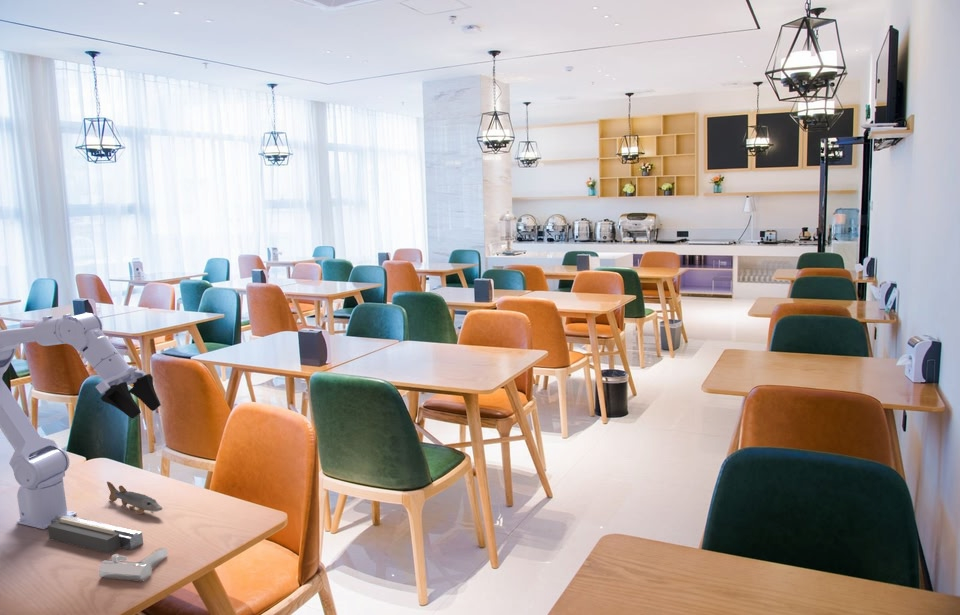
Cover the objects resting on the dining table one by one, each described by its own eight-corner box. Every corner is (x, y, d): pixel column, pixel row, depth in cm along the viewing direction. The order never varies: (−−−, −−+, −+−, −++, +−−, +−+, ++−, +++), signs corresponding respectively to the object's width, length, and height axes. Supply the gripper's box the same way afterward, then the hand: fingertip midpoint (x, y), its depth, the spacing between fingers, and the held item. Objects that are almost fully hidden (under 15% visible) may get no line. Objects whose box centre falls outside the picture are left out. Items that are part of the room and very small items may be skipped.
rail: (52, 530, 152) (50, 517, 152) (65, 524, 155) (63, 512, 155) (131, 550, 143) (129, 536, 142) (143, 543, 145) (141, 529, 145)
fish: (153, 523, 155) (151, 501, 154) (99, 504, 166) (97, 484, 165) (171, 515, 159) (169, 494, 158) (117, 497, 170) (115, 477, 169)
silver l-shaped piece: (99, 580, 132) (140, 585, 130) (97, 558, 131) (139, 562, 129) (135, 556, 142) (174, 560, 140) (134, 535, 141) (173, 538, 139)
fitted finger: (49, 539, 149) (47, 522, 148) (61, 533, 151) (59, 516, 150) (108, 553, 141) (106, 536, 141) (120, 547, 144) (118, 530, 143)
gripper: (99, 354, 140) (141, 407, 140) (140, 346, 155) (178, 393, 155) (74, 376, 141) (115, 428, 141) (117, 365, 155) (155, 413, 155)
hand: (147, 411), depth 148 cm, fingers open, 7 cm apart
